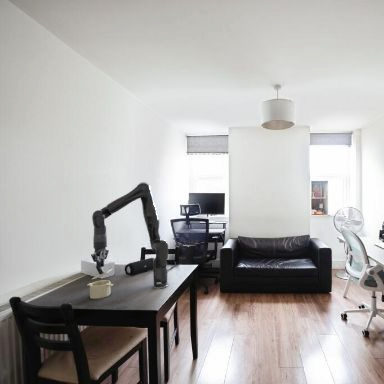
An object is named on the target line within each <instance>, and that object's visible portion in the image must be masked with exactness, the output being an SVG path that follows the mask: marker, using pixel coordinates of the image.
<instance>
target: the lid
mask: <svg viewBox="0 0 384 384" xmlns="http://www.w3.org/2000/svg"><path fill="white" fill-rule="evenodd" d="M96 269H97V271H98V272H99V275H98V276H96V277H94V276H93V277H92V278H91V280H96V279H100V278H99V277H101V276H103V275H105V274H107V273H108V272H110V271H111V270H112V269H110V270H107V271H105V272H103V270H102V268H101V267H100V268H97V267H96Z"/></svg>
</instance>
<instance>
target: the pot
mask: <svg viewBox="0 0 384 384" xmlns="http://www.w3.org/2000/svg"><path fill="white" fill-rule="evenodd" d="M113 286H114V283H111V280H108V279H104V280H103V279H101V280H96V281H93V282H90V283H87V287H89V298H90V299H93V300H95V299H102V298H106V297H108V296H110V295H111V290H112V289H111V287H113Z"/></svg>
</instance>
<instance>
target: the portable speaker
mask: <svg viewBox="0 0 384 384" xmlns="http://www.w3.org/2000/svg"><path fill="white" fill-rule="evenodd" d="M154 258H155V257H147V258H144V259H141V260H136V261H132V262H129V263H127V264H125V266H124V273H125V274H126V276H136V275H138V274H142V273H145V272H149V271H152V270H153V259H154Z"/></svg>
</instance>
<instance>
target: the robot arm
mask: <svg viewBox="0 0 384 384" xmlns="http://www.w3.org/2000/svg"><path fill="white" fill-rule="evenodd" d="M138 199H139V200H140V201H141V206H142V215H143V219H144V223H145V226H146V231H147V233H148V237H149V243H150V249H151V250H152V251H153V252H154V253H155V257H153V258H154V259H153V269H152V270H153V272H152V276H153V278H152V279H153V280H152V281H153V282H152V283H153V284H152V285H153V286H152V287H153V288H154V289H159V290H160V289H165V288H167V287H168V285H169V284H168V283H169V281H168V271H170V270H171V269H173V268H175V267H176V266H177V263H176V261H173V262H174V263H173V264H174V265H173V266H172V267H170V268H168V258H169V243H168V242H167V241H166V240H164V239H161V235H160V230H159V229H160V218H159V213H158V210H157V208H156V205H155V202H154V200H153V199H154V198H153V194H152V187H151V185H150V184H149V183H148V182H145V181H141V182H139V183H138V184H137V185H136V186H135V187H134V188H133V189H131V190H130V191H129V192H128V193H126V194H124V195H122V196H120V197H118V198H116V199H114V200H113V201H110V202H109V203H108V204H107V205H106V206H104V207H102V208H100V209H96V210H95V211H93V213H92V216H91V220H92V225H93V237H92V238H93V239H92V242H93V247H92V248H93V249H94V252H93V253H91V254H90V256H91V258H92V259H93V261H94V262H96V267H97V268H100V267H103V266H104V260H107V259H108V256H109V252H110V250H109V249H106V248H107V247H108V242H107V241H108V236H107V225H106V223H105V220H106V219H108V218H109V217H110V216H112V215H113V214H115V213H117V212H119V211H120V210H122V209H123V208H125V207H127V206H128V205H129V204H132V203H134V201H137V200H138ZM95 259H96V260H95ZM98 259H99V260H98Z"/></svg>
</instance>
